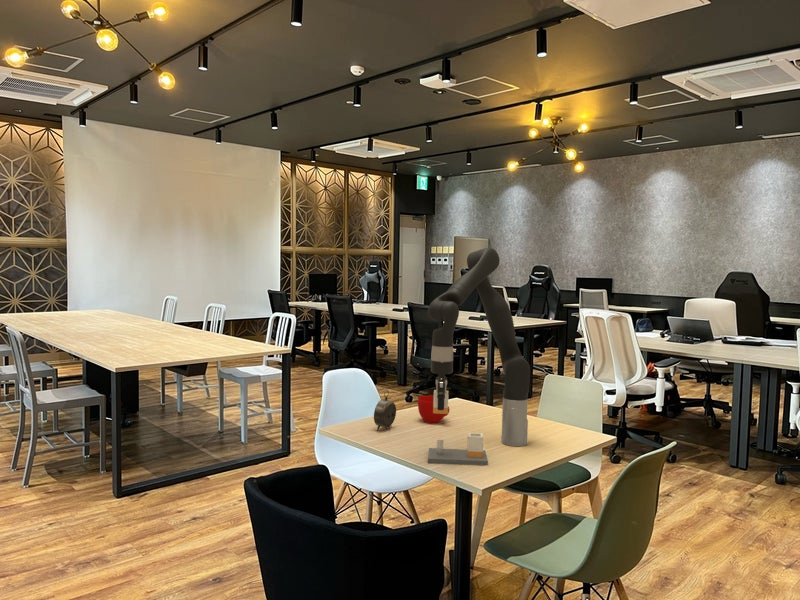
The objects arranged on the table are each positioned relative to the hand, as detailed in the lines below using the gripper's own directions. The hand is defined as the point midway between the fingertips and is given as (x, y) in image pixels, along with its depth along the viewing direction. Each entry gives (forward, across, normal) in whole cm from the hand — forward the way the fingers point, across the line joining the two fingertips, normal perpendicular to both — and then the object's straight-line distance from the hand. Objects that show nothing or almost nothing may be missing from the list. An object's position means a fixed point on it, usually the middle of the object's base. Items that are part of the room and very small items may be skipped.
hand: (440, 407), depth 202 cm
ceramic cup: (+18, -48, -2) cm, 51 cm away
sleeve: (+1, 0, 0) cm, 1 cm away
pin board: (+17, 0, +6) cm, 18 cm away
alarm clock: (+18, -34, -22) cm, 44 cm away
